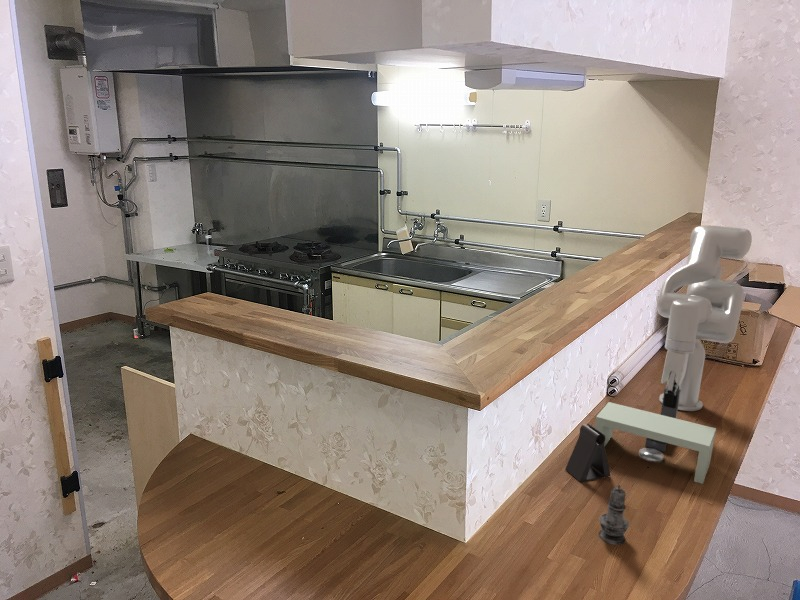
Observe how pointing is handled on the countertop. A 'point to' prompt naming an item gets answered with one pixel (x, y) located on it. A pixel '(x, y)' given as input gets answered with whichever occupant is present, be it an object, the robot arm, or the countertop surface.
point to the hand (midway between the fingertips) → (670, 405)
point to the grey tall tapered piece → (614, 518)
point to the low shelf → (659, 431)
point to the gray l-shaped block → (666, 412)
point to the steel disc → (651, 455)
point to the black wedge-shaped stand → (589, 456)
